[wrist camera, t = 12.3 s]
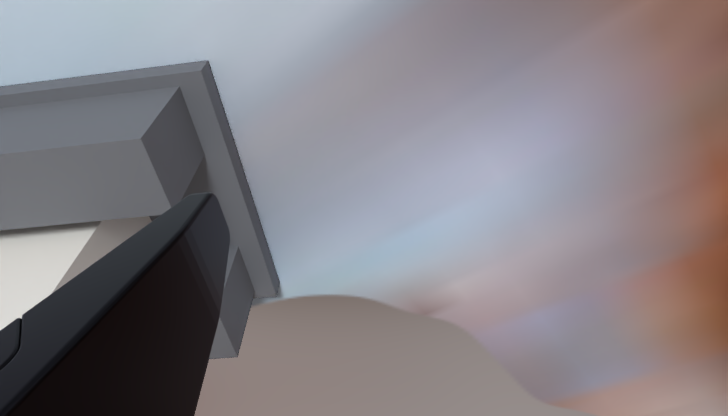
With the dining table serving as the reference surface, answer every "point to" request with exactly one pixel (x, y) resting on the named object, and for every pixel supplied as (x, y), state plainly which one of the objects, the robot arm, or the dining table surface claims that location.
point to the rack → (133, 165)
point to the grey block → (53, 258)
